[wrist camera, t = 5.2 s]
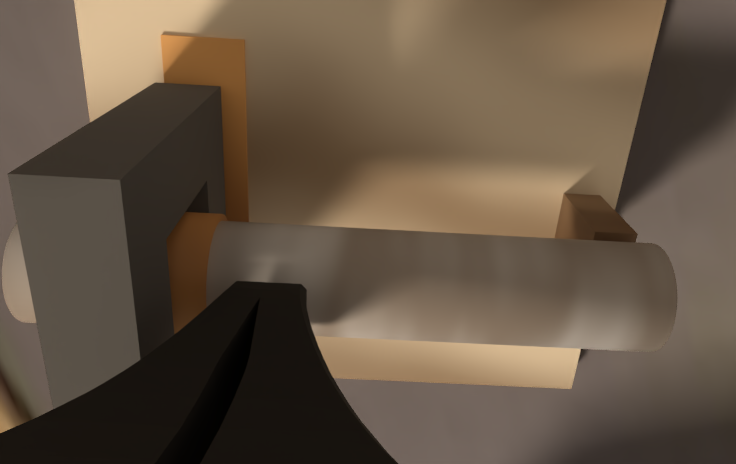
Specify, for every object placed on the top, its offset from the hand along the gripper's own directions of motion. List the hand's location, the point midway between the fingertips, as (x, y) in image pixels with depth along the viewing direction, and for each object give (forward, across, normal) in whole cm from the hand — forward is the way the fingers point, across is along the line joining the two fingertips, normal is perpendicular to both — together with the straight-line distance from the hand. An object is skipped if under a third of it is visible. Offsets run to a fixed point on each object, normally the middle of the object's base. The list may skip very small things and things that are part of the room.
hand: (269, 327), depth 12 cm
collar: (+5, +3, 0) cm, 6 cm away
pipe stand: (+6, -2, 0) cm, 7 cm away
